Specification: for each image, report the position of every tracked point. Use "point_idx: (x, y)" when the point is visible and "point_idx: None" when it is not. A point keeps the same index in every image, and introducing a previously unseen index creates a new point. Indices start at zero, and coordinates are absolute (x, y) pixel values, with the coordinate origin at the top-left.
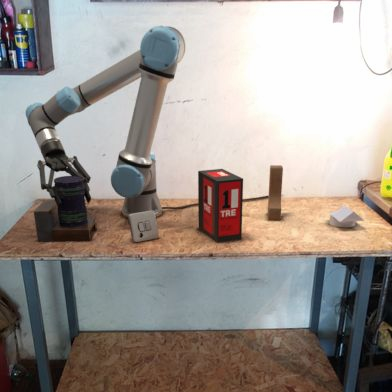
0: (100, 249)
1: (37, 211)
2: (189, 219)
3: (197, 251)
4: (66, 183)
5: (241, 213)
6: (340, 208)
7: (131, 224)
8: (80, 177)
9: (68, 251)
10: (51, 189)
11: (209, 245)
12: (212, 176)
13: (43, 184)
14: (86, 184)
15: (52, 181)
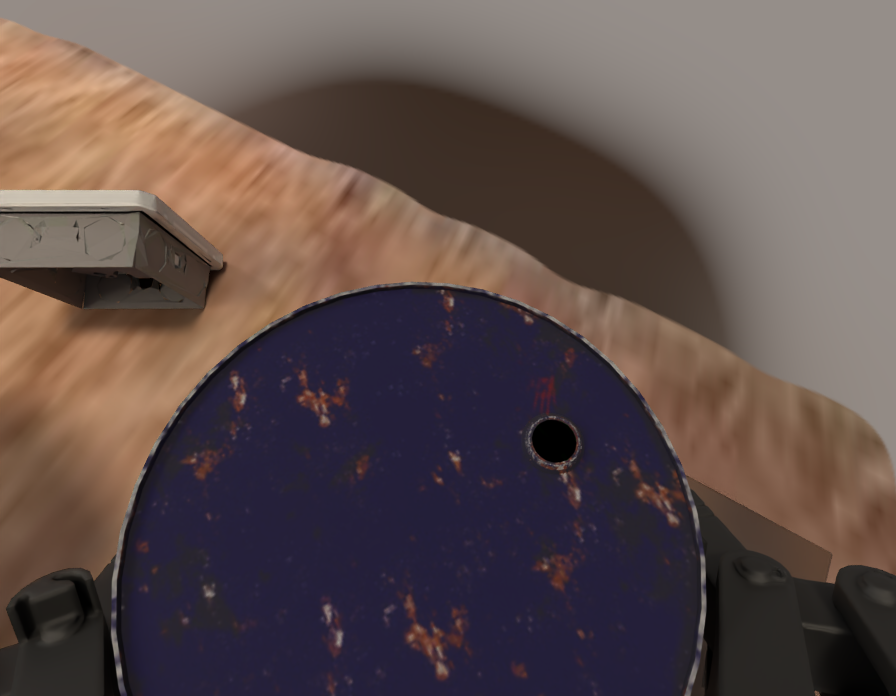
0: (409, 266)
1: (792, 532)
2: None
3: (102, 82)
4: (525, 314)
5: None
6: None
7: (182, 219)
8: (142, 567)
9: (557, 314)
10: (708, 541)
11: (10, 106)
12: None
13: (887, 577)
14: (110, 590)
15: (723, 625)
